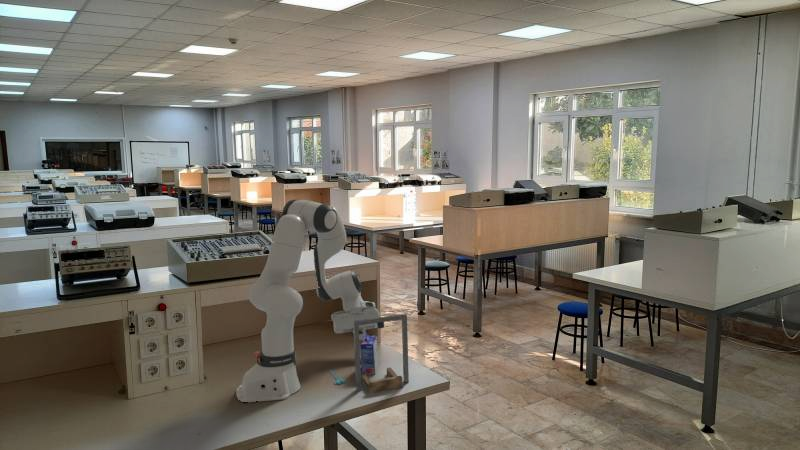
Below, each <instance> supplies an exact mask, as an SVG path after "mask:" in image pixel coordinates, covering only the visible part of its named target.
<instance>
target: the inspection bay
mask: <svg viewBox="0 0 800 450" xmlns="http://www.w3.org/2000/svg"><path fill="white" fill-rule="evenodd" d="M386 376H388V377H385V378H380V379H373V380H370V378H369V377H368V375H367V374H365V373H364V372H362V371H361V383H362V384H363V385H364V387H365V388H366V390H367V391H368V393H369V394H370V395H371V394H377V393H381V392H388V391H393V390H399V389H403V377H402V375H397V373H396V372H395V371H394V370H393V369H392V368H391V367H386Z"/></svg>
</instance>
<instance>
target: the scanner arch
mask: <svg viewBox="0 0 800 450" xmlns="http://www.w3.org/2000/svg"><path fill="white" fill-rule="evenodd" d="M395 321H401V335H402V337H401V338H402V341H401V342H402V371H403V373H402V375H403V377H402V382H403V383H406V384H407V383H409V382H410V380H409V378H410V377H409V375H410V374H409V346H408V345H409V343H408V342H409V341H408V340H409V339H408V337H409V336H408V315H407V314H406V313H401V314H394V315H387V316H381V317H377V318H369V319H362V320H354V321H353V325H354V333H353V343H354V344H353V345H354V346H353V347H354V367H355V368H354V370H355V390H356V391H357V392H360V391H362V381H361V372H362V369H361V347H360V344H361V343H360V340H359V334H360V330H359V325H366V324H373V323H377V329H383V328H385V323H389V322H395Z"/></svg>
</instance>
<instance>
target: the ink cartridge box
mask: <svg viewBox="0 0 800 450" xmlns="http://www.w3.org/2000/svg"><path fill="white" fill-rule="evenodd" d="M359 344H360V363H361V372H364V373H365V374H366V375H376V374H377V371H378V368H379V365H380V363H379V347H378V345H379V344H378V335H368V334H367V332H366V331H365V334H364V338H363V339H362V340H361V342H360V343H359Z"/></svg>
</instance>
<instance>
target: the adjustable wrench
mask: <svg viewBox="0 0 800 450" xmlns="http://www.w3.org/2000/svg"><path fill="white" fill-rule="evenodd" d="M328 371H329V373H330V374H331V376H332V377H333V378H334V379H335V382H333V385H340V386H341V385H342V384H345V383H346V382H347V379H346V378H341V377H340V376H339V375H338V374H337V372H335V371H334V369H333V370H332V369H331V370H328Z"/></svg>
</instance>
